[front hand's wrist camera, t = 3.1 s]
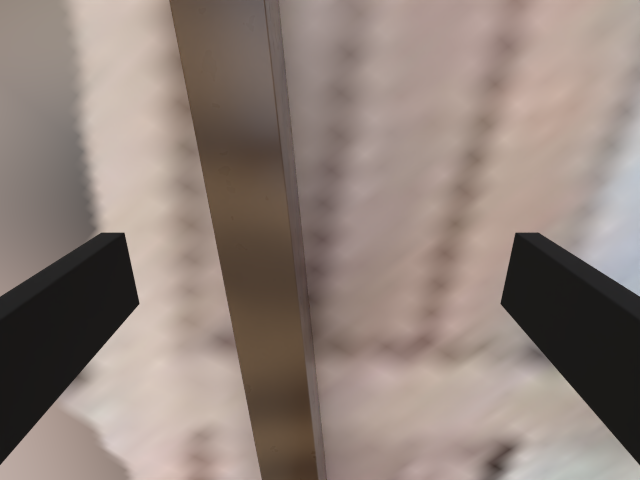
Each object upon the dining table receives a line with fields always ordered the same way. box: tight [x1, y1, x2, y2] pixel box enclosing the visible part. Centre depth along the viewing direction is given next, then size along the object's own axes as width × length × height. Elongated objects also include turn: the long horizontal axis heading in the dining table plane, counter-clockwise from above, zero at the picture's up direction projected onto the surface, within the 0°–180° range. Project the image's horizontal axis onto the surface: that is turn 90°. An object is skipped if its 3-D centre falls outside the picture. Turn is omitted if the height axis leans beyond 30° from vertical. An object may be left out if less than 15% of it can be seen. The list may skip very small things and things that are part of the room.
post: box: [170, 0, 327, 480], centre depth 32 cm, size 71×5×7 cm, turn 4°
